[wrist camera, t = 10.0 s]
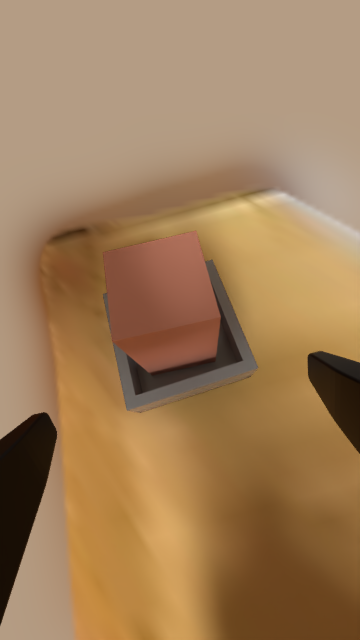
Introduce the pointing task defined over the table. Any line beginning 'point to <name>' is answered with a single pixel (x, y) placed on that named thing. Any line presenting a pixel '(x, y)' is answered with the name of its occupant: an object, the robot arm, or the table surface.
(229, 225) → the table surface
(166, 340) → the red block
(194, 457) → the table surface
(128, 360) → the open box
